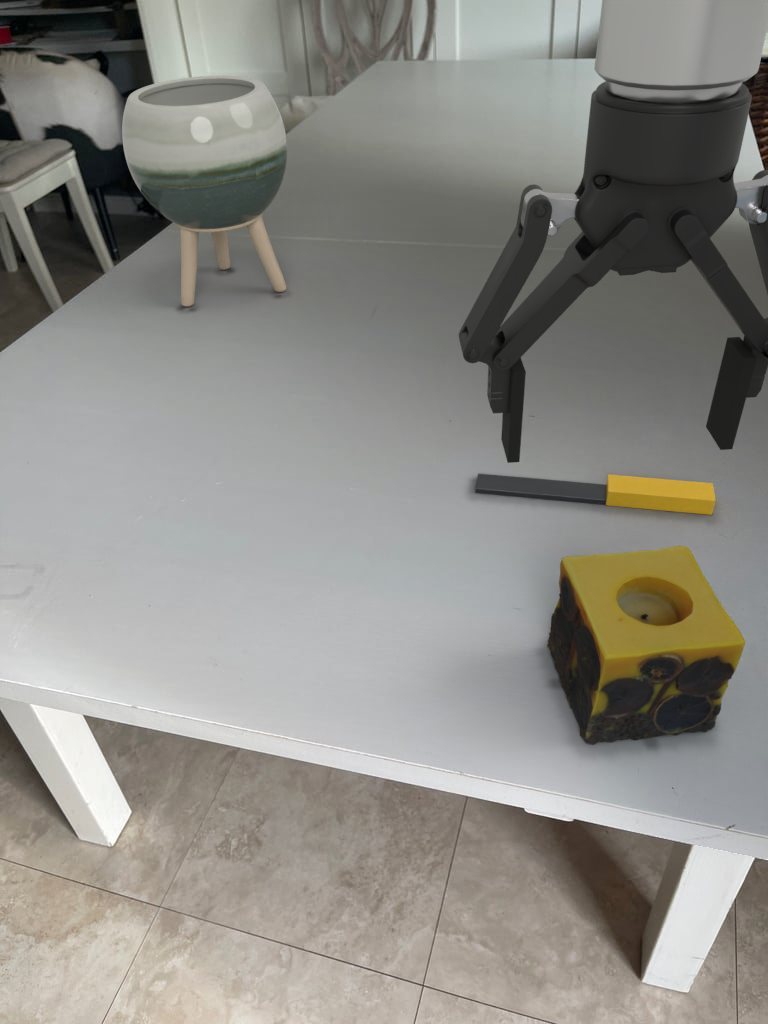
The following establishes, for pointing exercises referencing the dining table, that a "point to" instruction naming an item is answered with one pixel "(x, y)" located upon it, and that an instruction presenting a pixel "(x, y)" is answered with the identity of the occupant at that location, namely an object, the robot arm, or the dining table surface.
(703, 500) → the knife
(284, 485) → the dining table surface
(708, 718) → the candle
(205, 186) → the planter
